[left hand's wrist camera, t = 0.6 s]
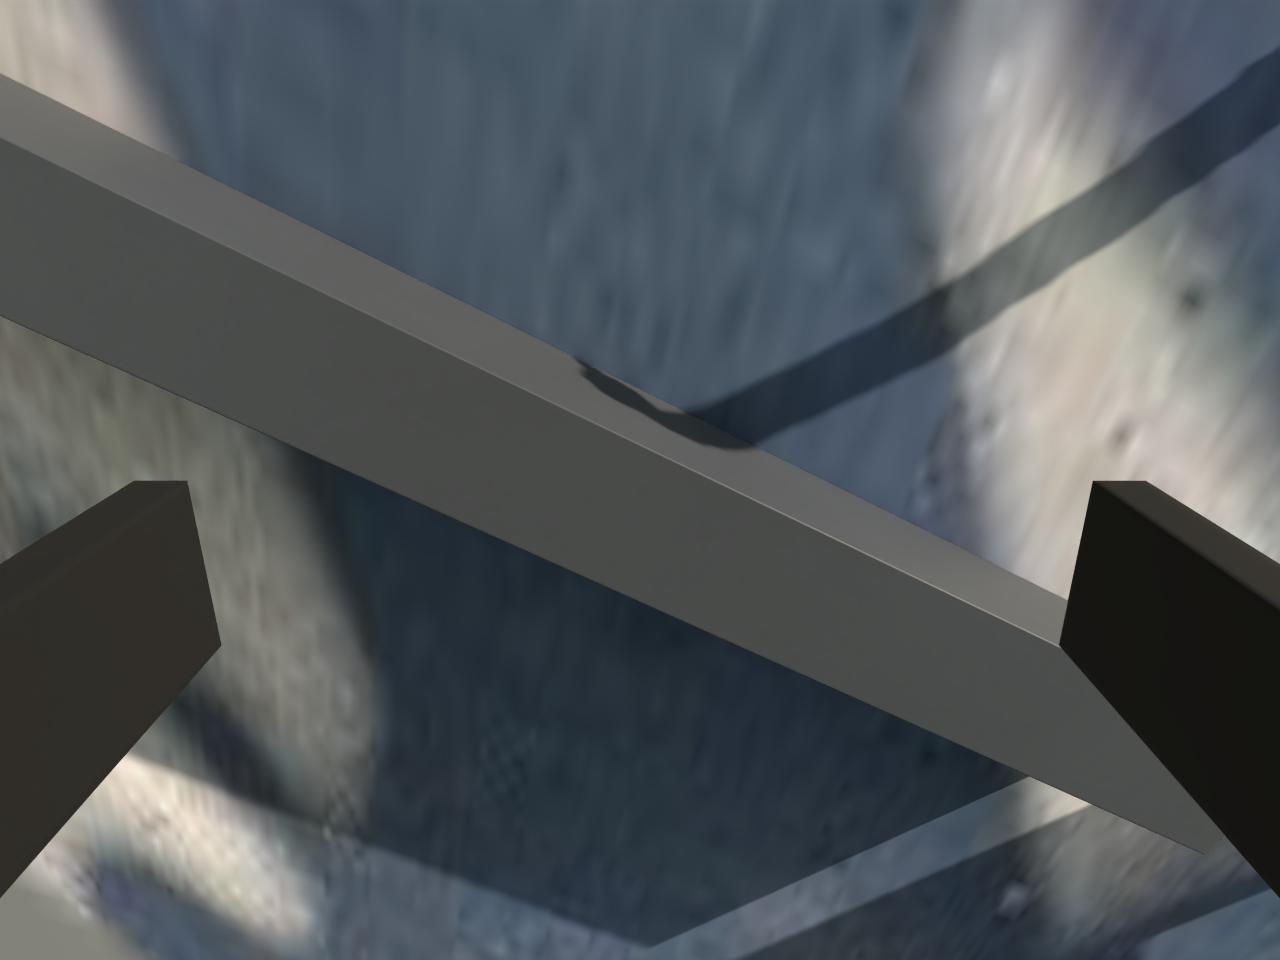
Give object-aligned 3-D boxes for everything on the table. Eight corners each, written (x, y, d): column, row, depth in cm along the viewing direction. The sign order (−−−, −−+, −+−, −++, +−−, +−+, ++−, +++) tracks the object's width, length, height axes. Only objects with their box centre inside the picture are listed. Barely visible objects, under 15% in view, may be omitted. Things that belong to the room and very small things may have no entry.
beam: (-170, 145, 34) (-397, 139, 27) (-149, -1, 32) (-386, -50, 25) (1111, 740, 45) (1205, 855, 38) (1183, 657, 43) (1297, 761, 36)
